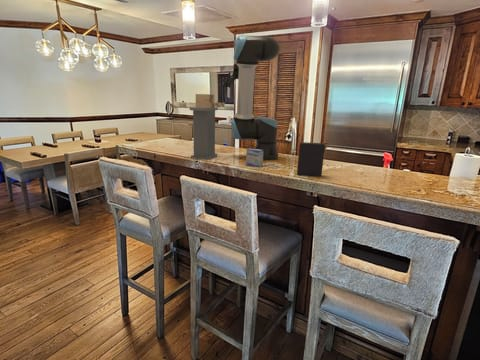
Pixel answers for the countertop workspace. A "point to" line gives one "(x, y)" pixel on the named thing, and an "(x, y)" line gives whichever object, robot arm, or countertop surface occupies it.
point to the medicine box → (254, 157)
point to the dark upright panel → (310, 159)
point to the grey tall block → (204, 132)
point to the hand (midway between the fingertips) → (238, 97)
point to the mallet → (207, 101)
